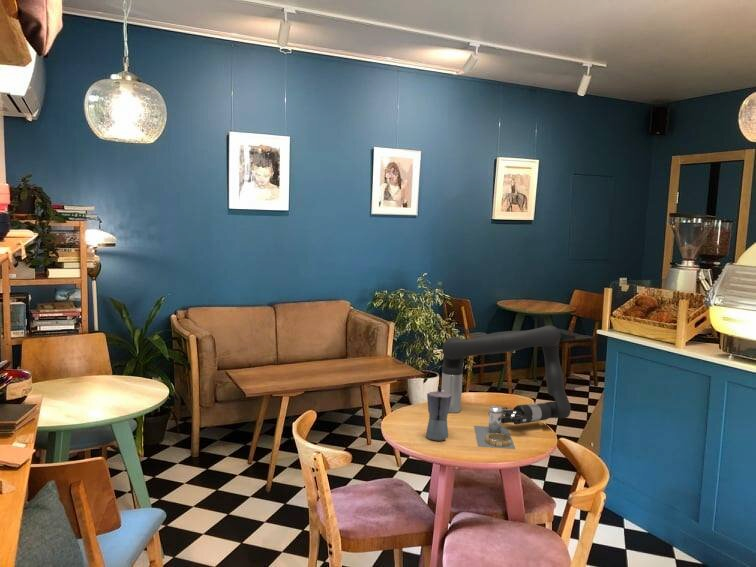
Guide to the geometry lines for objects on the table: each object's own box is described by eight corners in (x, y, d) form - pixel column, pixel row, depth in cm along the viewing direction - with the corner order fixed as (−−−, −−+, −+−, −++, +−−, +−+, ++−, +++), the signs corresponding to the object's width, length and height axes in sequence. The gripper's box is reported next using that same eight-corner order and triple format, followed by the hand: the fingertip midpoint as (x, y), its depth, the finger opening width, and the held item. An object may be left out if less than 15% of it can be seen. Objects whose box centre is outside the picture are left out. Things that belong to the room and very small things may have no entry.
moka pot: (447, 431, 240) (450, 383, 238) (451, 445, 225) (454, 394, 223) (424, 430, 240) (426, 382, 238) (426, 444, 225) (428, 393, 223)
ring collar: (486, 445, 223) (486, 440, 223) (484, 437, 232) (484, 432, 232) (511, 447, 222) (511, 442, 222) (508, 438, 231) (508, 433, 231)
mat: (477, 449, 222) (477, 446, 222) (473, 427, 246) (473, 425, 246) (515, 451, 221) (515, 449, 221) (507, 430, 245) (507, 427, 244)
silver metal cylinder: (488, 433, 237) (490, 408, 236) (487, 429, 242) (488, 405, 241) (502, 434, 236) (503, 409, 236) (500, 430, 241) (501, 406, 241)
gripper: (517, 399, 251) (485, 403, 245) (539, 409, 238) (506, 413, 232) (516, 417, 252) (484, 420, 245) (538, 427, 239) (505, 432, 232)
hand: (495, 417), depth 238 cm, fingers open, 8 cm apart
